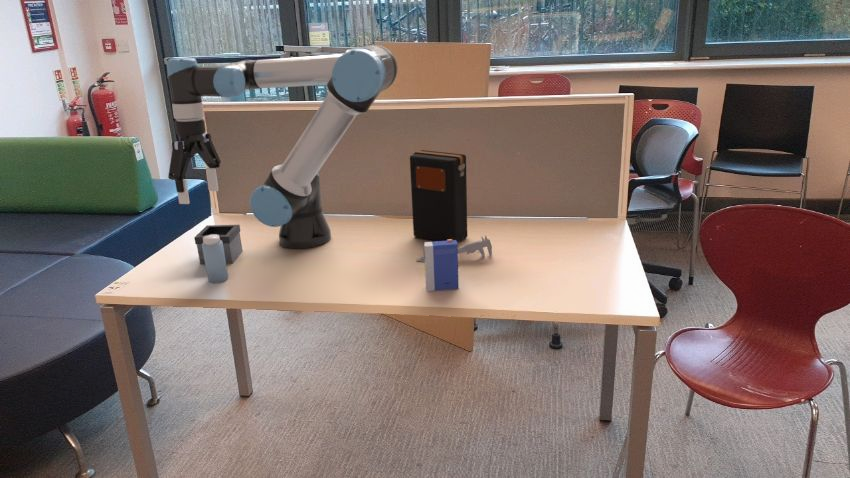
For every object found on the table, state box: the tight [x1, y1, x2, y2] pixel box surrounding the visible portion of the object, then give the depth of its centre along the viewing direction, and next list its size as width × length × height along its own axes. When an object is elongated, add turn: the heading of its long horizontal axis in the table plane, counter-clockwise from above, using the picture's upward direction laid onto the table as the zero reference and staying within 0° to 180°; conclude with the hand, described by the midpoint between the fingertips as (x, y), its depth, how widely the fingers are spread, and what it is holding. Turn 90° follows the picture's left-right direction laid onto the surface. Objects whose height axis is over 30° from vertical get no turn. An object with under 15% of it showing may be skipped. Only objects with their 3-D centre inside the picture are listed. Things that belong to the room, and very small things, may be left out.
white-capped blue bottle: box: [202, 234, 229, 284], centre depth 161 cm, size 5×5×12 cm
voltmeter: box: [409, 149, 468, 243], centre depth 180 cm, size 16×9×25 cm, turn 58°
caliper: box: [415, 235, 493, 263], centre depth 169 cm, size 20×1×6 cm, turn 94°
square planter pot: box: [193, 224, 243, 265], centre depth 175 cm, size 9×9×8 cm
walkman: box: [423, 239, 459, 292], centre depth 151 cm, size 8×3×12 cm, turn 95°
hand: (199, 197), depth 173 cm, fingers open, 13 cm apart
